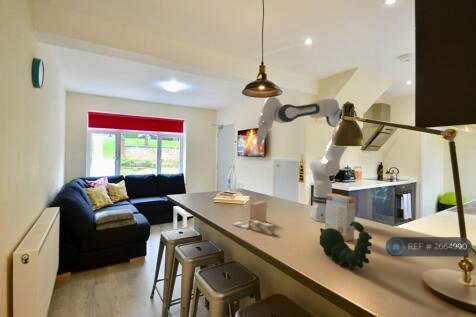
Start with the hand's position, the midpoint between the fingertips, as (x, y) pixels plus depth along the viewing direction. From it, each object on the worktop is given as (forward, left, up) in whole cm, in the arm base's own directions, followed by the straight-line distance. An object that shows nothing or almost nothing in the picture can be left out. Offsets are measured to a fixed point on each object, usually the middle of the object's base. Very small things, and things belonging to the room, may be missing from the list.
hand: (258, 145), depth 147 cm
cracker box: (-48, -4, -46) cm, 66 cm away
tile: (-5, +5, -46) cm, 46 cm away
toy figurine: (-56, +25, -46) cm, 76 cm away
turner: (-9, +16, -46) cm, 49 cm away
